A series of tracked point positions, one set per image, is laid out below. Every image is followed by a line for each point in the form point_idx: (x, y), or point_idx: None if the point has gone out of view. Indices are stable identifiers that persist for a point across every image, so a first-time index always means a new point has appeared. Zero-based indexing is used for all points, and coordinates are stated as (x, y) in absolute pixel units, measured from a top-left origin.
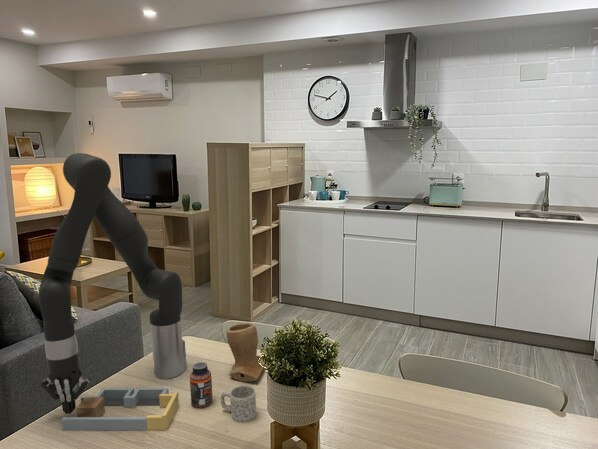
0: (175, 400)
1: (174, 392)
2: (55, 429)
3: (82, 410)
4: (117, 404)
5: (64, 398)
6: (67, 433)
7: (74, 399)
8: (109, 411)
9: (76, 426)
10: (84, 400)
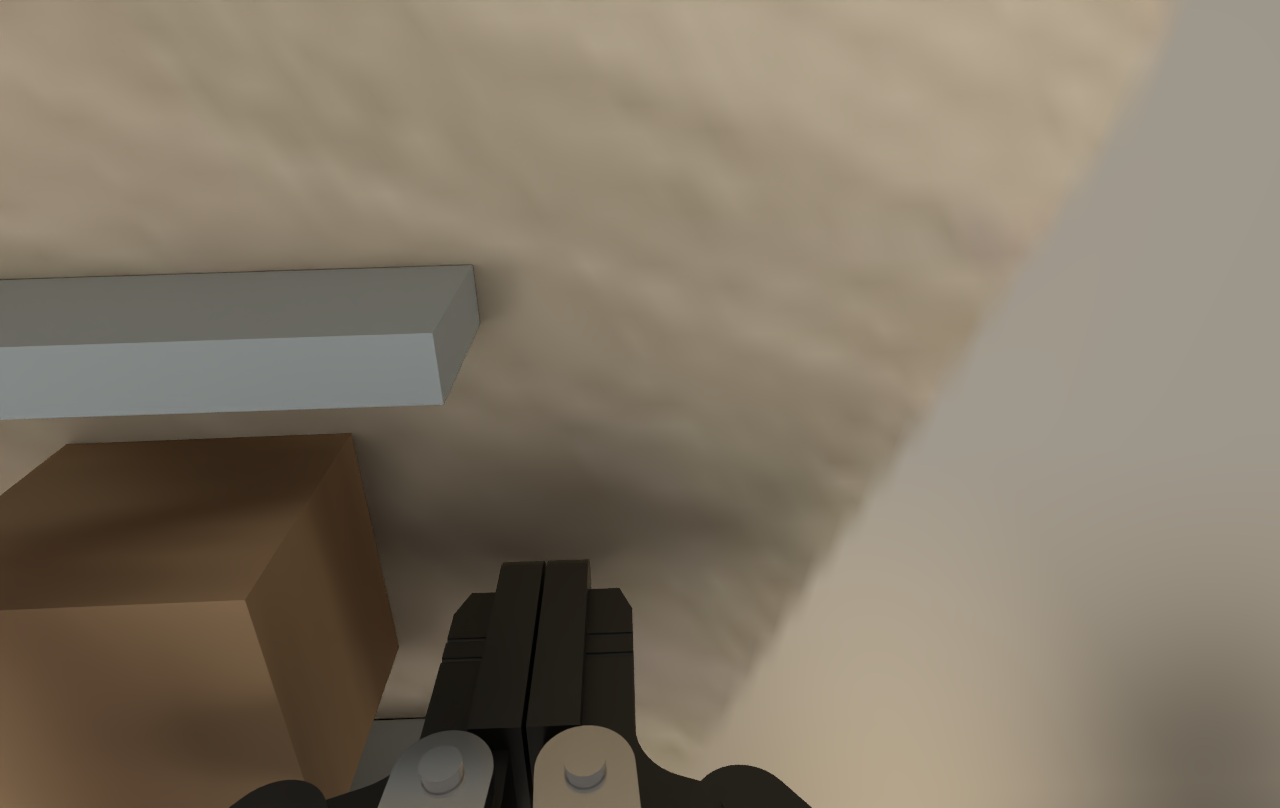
0: None
1: None
2: (602, 279)
3: (152, 568)
4: None
5: (533, 797)
6: (334, 183)
7: (303, 782)
8: None
9: (205, 291)
10: None
